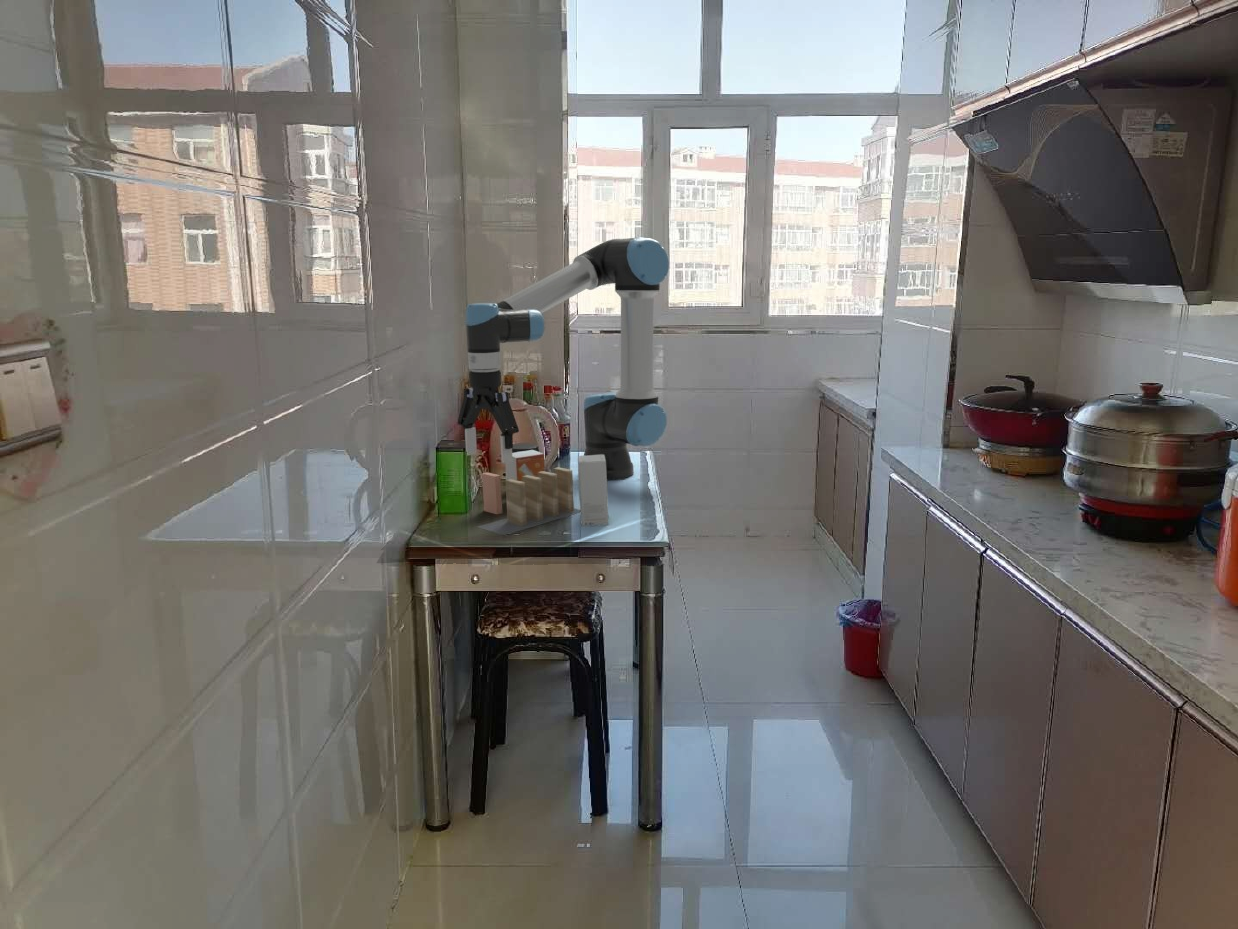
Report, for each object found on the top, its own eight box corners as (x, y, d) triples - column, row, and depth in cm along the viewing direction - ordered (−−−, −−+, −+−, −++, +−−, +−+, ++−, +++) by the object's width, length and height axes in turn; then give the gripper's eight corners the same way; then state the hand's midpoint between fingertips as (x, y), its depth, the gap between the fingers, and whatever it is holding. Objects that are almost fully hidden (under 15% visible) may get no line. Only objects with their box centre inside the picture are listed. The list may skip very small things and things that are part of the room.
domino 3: (529, 515, 222) (527, 475, 220) (543, 519, 219) (541, 478, 216) (523, 517, 221) (521, 476, 219) (537, 520, 217) (535, 479, 215)
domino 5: (559, 506, 229) (558, 467, 227) (573, 510, 226) (572, 470, 223) (555, 508, 228) (553, 468, 226) (569, 511, 224) (567, 471, 222)
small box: (518, 509, 230) (515, 457, 227) (506, 503, 235) (503, 453, 232) (546, 503, 235) (544, 453, 232) (534, 498, 240) (532, 449, 237)
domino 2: (512, 520, 218) (510, 479, 216) (526, 524, 215) (524, 482, 213) (507, 521, 217) (505, 480, 215) (521, 525, 214) (519, 483, 212)
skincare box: (609, 527, 213) (607, 461, 209) (580, 528, 213) (577, 462, 209) (607, 517, 221) (605, 453, 218) (579, 518, 221) (577, 454, 217)
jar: (547, 490, 248) (545, 446, 245) (521, 495, 243) (518, 450, 240) (529, 484, 255) (527, 441, 252) (504, 489, 250) (501, 445, 247)
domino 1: (489, 511, 228) (487, 472, 226) (502, 515, 225) (500, 475, 223) (484, 513, 227) (481, 473, 225) (497, 516, 224) (494, 476, 222)
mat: (556, 506, 232) (556, 504, 231) (584, 513, 225) (584, 510, 225) (476, 529, 214) (476, 526, 214) (504, 537, 207) (504, 535, 207)
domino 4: (544, 511, 225) (542, 471, 223) (558, 514, 222) (556, 474, 220) (539, 512, 224) (537, 472, 222) (553, 516, 221) (551, 475, 219)
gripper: (440, 367, 224) (445, 453, 229) (506, 375, 207) (510, 468, 212) (465, 364, 229) (469, 449, 234) (531, 372, 212) (535, 462, 217)
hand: (488, 458), depth 223 cm, fingers open, 13 cm apart
